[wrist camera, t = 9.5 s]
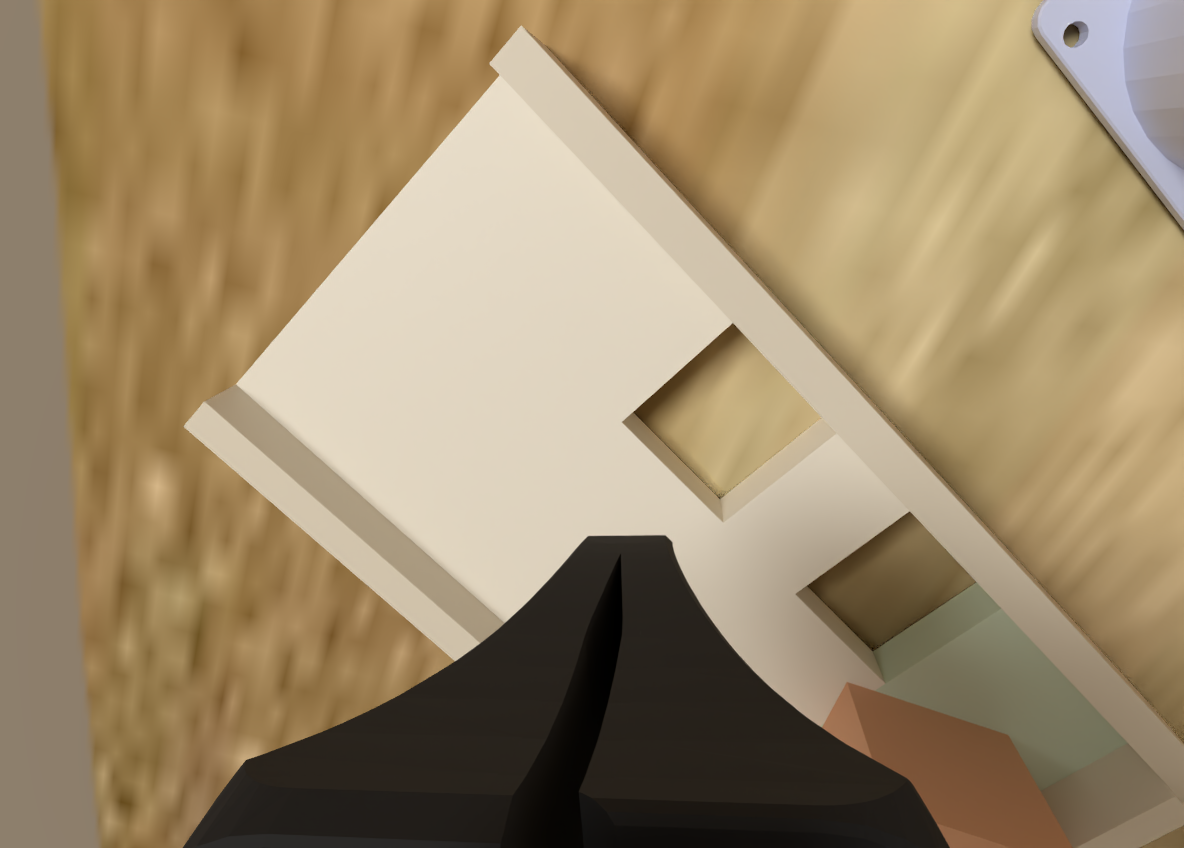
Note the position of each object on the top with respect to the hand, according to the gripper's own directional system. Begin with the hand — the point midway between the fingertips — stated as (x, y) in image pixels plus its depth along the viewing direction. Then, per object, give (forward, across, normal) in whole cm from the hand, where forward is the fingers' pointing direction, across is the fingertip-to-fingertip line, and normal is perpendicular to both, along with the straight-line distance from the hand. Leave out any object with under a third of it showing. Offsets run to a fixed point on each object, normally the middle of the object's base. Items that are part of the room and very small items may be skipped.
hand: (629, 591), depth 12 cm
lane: (+10, -1, +5) cm, 11 cm away
